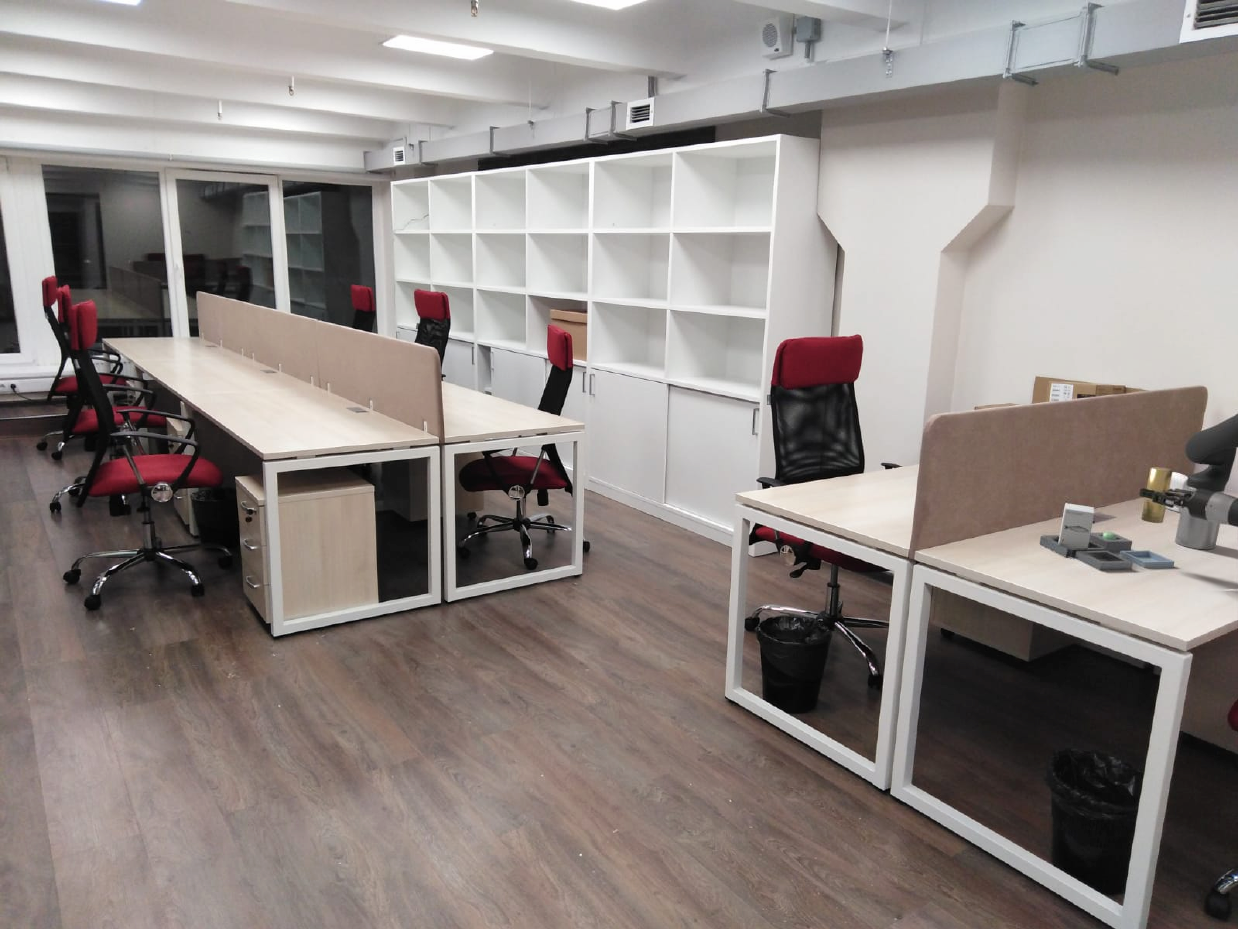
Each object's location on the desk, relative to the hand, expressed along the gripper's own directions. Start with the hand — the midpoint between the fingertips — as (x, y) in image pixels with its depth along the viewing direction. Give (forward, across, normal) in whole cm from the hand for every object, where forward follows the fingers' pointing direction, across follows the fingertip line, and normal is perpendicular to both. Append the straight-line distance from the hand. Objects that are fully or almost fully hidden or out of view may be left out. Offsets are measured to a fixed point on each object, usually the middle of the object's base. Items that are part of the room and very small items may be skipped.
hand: (1147, 490), depth 231 cm
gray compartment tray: (+7, +10, +20) cm, 23 cm away
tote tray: (-3, -1, +20) cm, 20 cm away
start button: (+9, -3, +18) cm, 21 cm away
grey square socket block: (+9, -3, +20) cm, 22 cm away
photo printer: (+26, -68, +20) cm, 75 cm away
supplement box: (+13, +8, +20) cm, 25 cm away
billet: (-3, 0, +8) cm, 8 cm away
